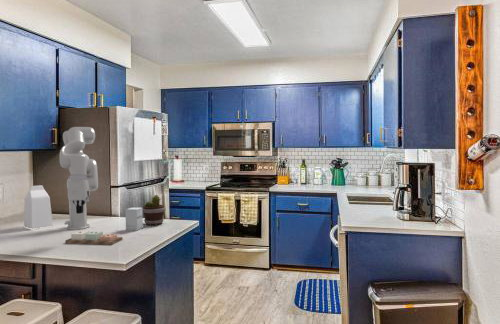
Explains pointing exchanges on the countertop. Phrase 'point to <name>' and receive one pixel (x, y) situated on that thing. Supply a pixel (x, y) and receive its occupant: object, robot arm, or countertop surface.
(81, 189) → the robot arm
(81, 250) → the countertop surface
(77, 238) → the tile one
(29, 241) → the countertop surface
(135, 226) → the supplement box
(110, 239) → the tile three
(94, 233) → the tile two
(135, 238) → the countertop surface
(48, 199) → the milk
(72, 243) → the board
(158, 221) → the flowerpot
